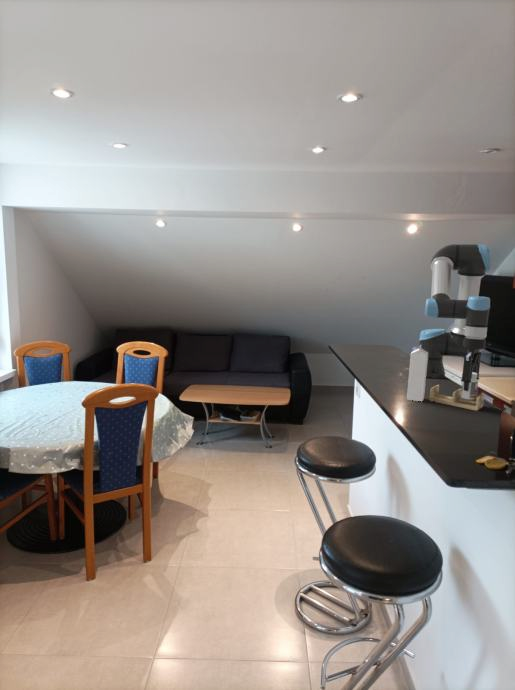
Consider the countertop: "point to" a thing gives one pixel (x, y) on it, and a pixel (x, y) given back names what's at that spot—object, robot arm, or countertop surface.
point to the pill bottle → (472, 386)
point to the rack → (456, 399)
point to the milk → (417, 375)
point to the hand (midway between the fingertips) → (468, 397)
